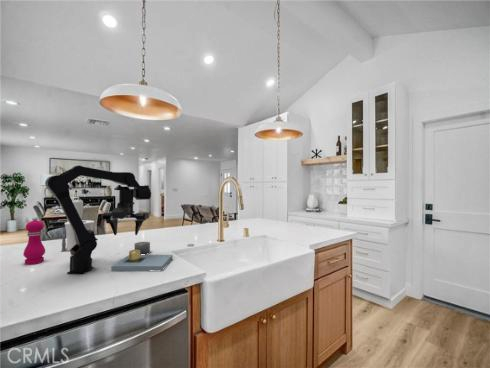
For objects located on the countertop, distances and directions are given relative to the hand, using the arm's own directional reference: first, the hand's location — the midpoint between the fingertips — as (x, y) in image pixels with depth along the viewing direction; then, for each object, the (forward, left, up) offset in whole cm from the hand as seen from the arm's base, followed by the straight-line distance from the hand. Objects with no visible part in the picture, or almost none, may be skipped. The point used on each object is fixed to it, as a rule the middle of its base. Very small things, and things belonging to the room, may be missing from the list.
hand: (125, 235), depth 108 cm
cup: (-19, -2, -12) cm, 23 cm away
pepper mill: (-39, -1, -12) cm, 41 cm away
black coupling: (+2, +14, -12) cm, 19 cm away
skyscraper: (-37, +21, -12) cm, 44 cm away
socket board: (+10, -4, -12) cm, 16 cm away
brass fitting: (+6, -4, -12) cm, 14 cm away
